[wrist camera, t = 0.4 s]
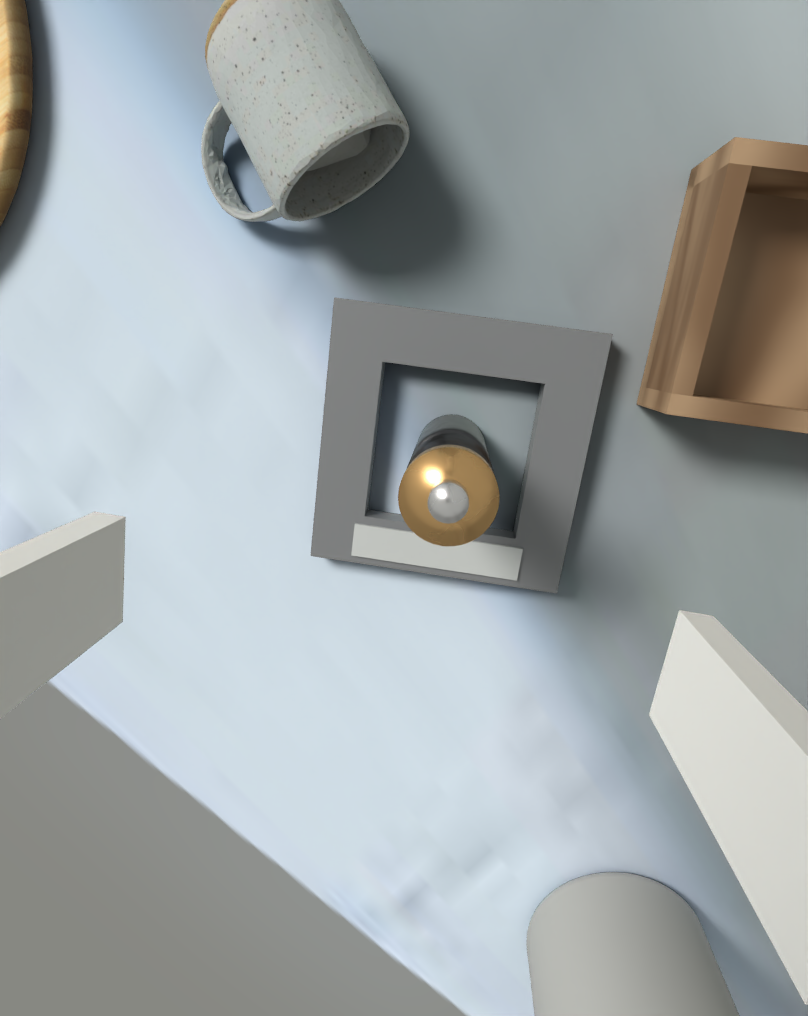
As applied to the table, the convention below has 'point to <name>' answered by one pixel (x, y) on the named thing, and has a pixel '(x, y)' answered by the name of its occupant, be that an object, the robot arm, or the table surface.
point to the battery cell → (449, 484)
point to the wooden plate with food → (14, 97)
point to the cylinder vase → (622, 952)
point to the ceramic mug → (298, 107)
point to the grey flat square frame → (468, 349)
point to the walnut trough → (737, 293)
